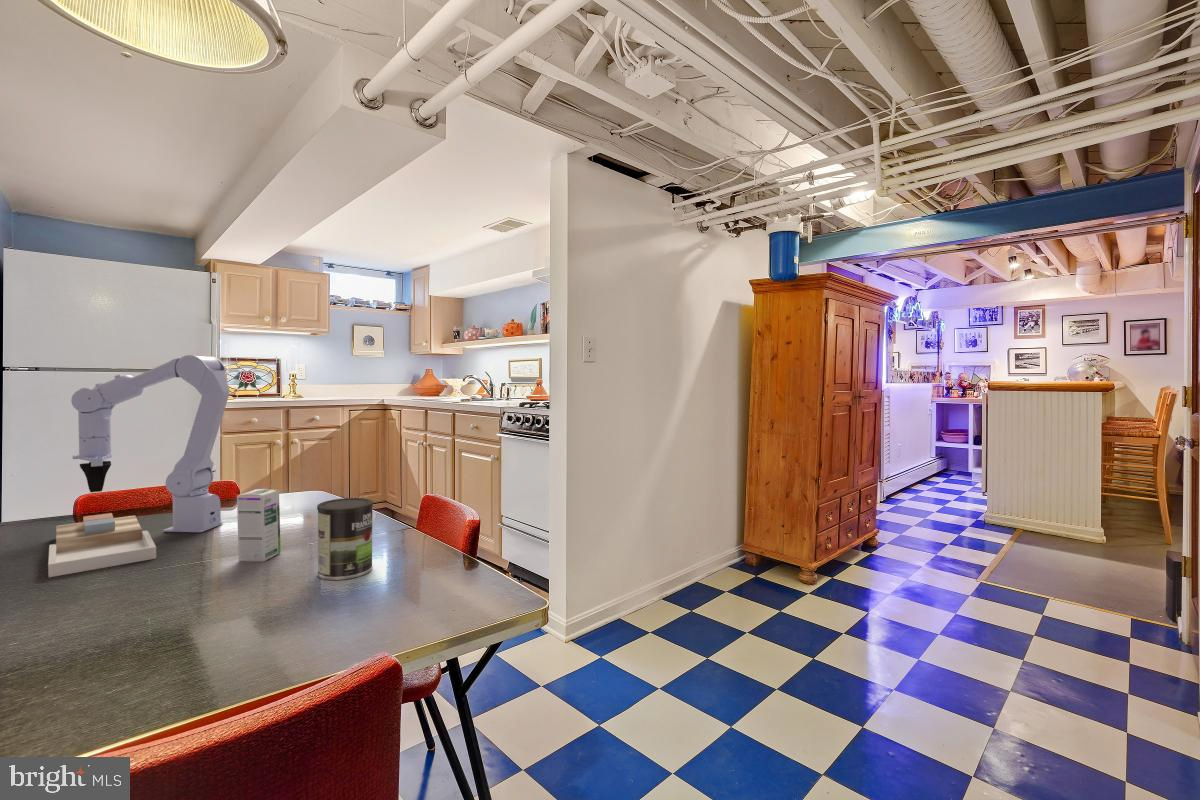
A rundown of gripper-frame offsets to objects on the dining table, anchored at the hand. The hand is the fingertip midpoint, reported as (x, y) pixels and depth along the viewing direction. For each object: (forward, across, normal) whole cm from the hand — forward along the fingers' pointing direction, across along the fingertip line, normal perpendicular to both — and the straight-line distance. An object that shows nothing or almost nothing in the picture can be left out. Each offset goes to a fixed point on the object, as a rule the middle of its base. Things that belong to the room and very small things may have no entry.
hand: (96, 491), depth 132 cm
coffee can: (+10, +68, +35) cm, 77 cm away
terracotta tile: (+7, +8, 0) cm, 10 cm away
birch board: (+10, +10, 0) cm, 14 cm away
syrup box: (+10, +48, +24) cm, 55 cm away
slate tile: (+7, +14, 0) cm, 15 cm away
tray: (+10, +26, 0) cm, 28 cm away
